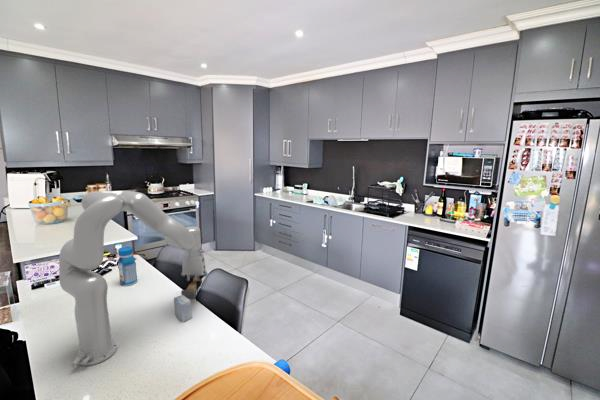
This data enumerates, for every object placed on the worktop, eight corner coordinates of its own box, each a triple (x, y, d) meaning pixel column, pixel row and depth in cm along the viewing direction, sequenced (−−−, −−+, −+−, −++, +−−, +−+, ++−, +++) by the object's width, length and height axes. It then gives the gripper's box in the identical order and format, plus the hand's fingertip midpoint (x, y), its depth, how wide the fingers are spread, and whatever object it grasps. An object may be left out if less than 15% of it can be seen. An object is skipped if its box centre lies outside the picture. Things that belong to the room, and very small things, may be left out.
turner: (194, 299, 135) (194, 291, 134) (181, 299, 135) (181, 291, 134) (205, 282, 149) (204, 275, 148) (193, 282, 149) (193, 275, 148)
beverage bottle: (132, 286, 156) (128, 251, 152) (116, 286, 156) (112, 251, 152) (140, 279, 164) (137, 246, 160) (126, 279, 164) (122, 245, 160)
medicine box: (192, 318, 129) (191, 300, 127) (182, 322, 126) (181, 304, 124) (184, 311, 134) (183, 294, 132) (174, 315, 131) (173, 297, 129)
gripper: (212, 249, 143) (213, 284, 147) (179, 249, 143) (181, 283, 147) (207, 255, 136) (208, 291, 139) (172, 254, 136) (175, 290, 140)
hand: (195, 287), depth 143 cm, fingers closed on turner, 3 cm apart
